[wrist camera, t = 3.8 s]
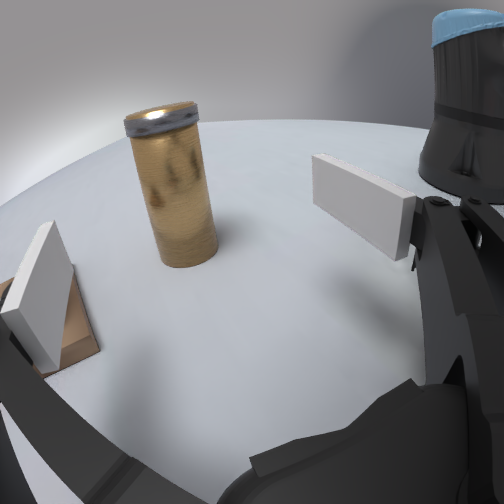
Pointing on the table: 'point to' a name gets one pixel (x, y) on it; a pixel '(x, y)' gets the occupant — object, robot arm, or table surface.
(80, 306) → the base
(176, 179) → the brass cylinder
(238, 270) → the table surface
